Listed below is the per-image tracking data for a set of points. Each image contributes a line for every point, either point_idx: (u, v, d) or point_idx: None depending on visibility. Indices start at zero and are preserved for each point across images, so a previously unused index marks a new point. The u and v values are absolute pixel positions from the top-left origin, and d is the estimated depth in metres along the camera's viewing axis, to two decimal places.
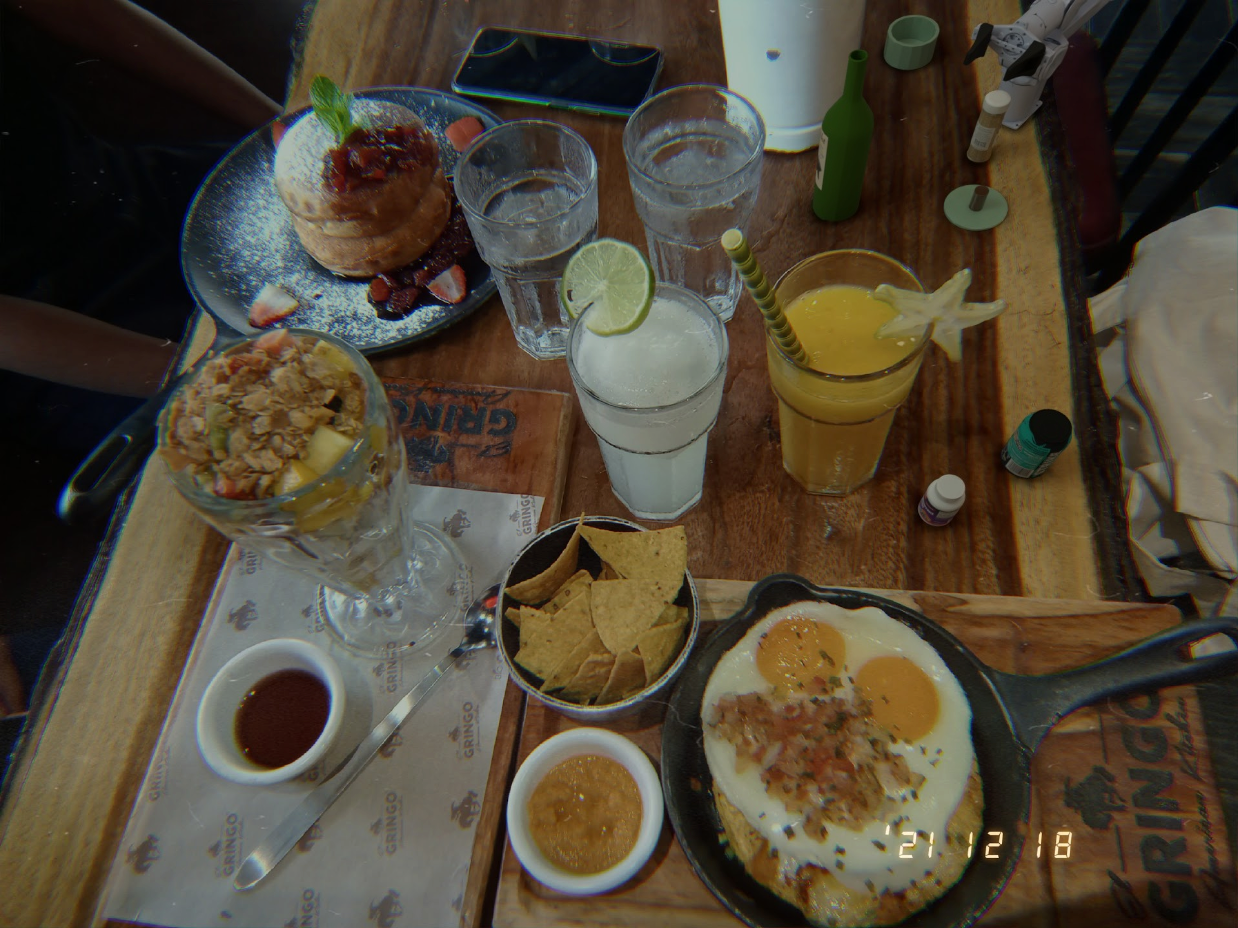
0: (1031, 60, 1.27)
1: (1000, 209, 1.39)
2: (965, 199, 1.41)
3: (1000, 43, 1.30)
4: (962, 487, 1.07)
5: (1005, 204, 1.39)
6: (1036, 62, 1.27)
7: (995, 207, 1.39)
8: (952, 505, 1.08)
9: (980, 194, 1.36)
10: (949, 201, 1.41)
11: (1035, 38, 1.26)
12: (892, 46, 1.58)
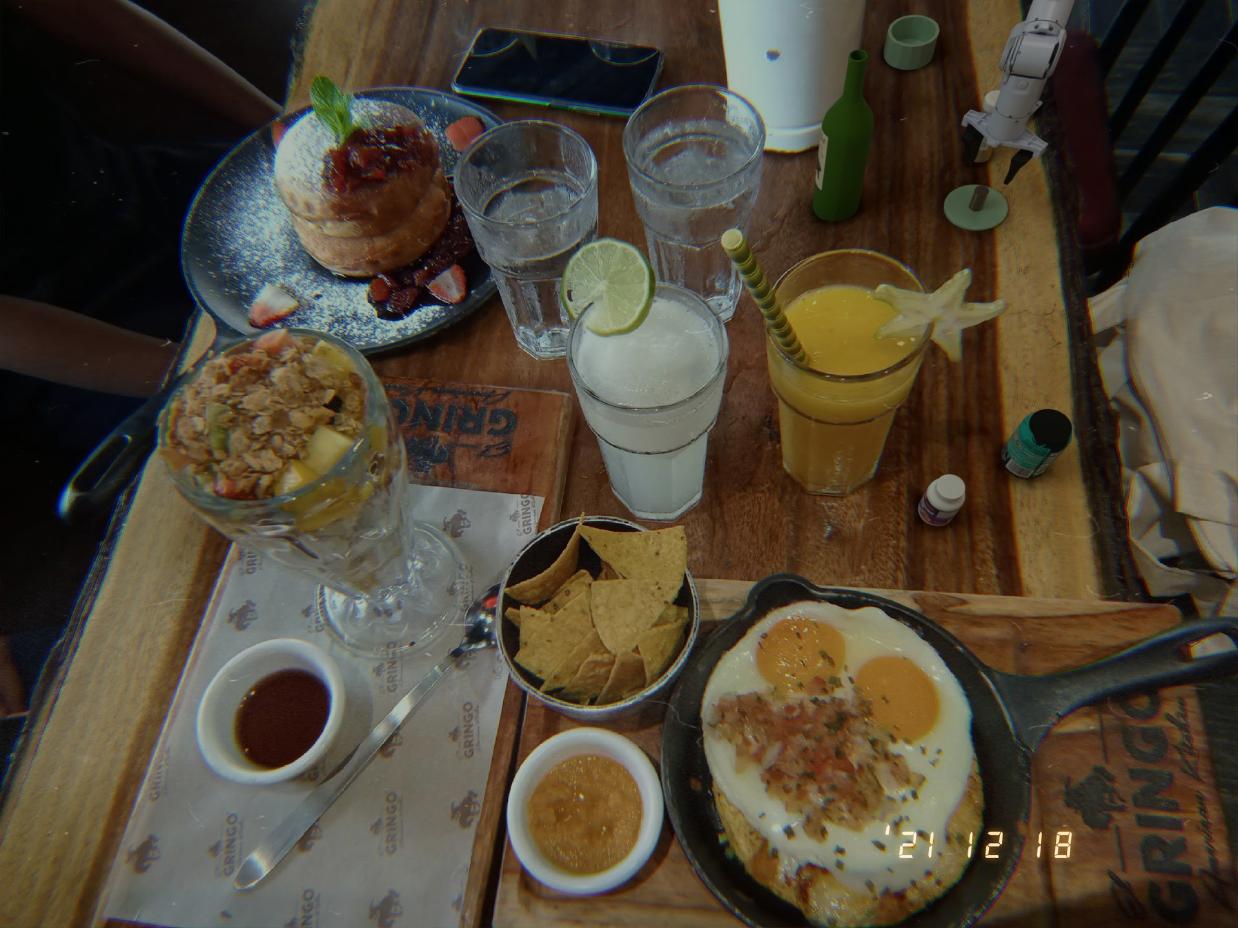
0: None
1: (1000, 209, 1.39)
2: (965, 199, 1.41)
3: None
4: (962, 487, 1.07)
5: (1005, 204, 1.39)
6: None
7: (995, 207, 1.39)
8: (952, 505, 1.08)
9: (980, 194, 1.36)
10: (949, 201, 1.41)
11: (1014, 146, 1.23)
12: (892, 46, 1.58)
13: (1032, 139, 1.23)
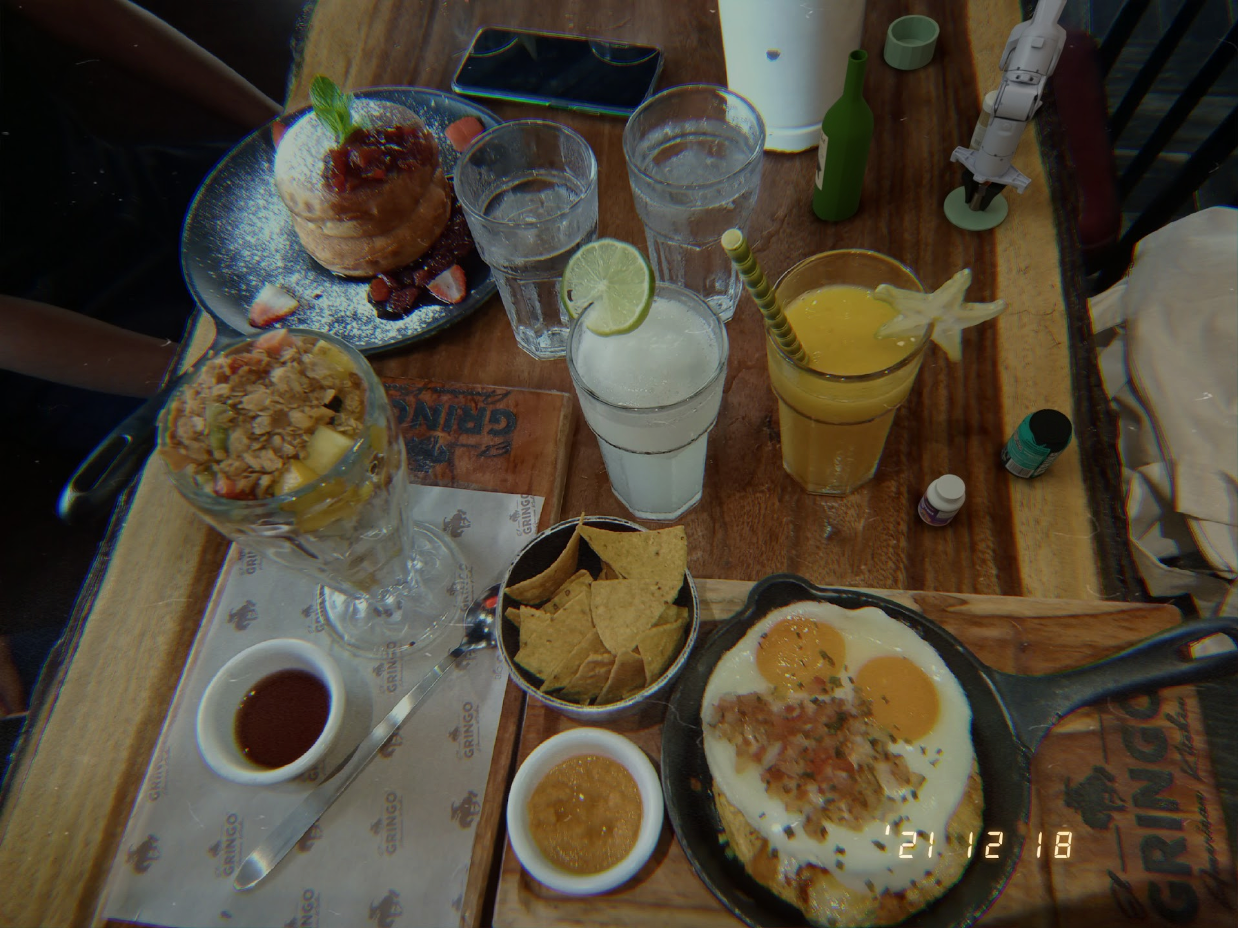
0: None
1: (1000, 209, 1.39)
2: None
3: None
4: (962, 487, 1.07)
5: (1005, 204, 1.39)
6: None
7: (995, 207, 1.39)
8: (952, 505, 1.08)
9: (980, 194, 1.36)
10: (949, 201, 1.41)
11: (999, 182, 1.30)
12: (892, 46, 1.58)
13: (1016, 175, 1.29)
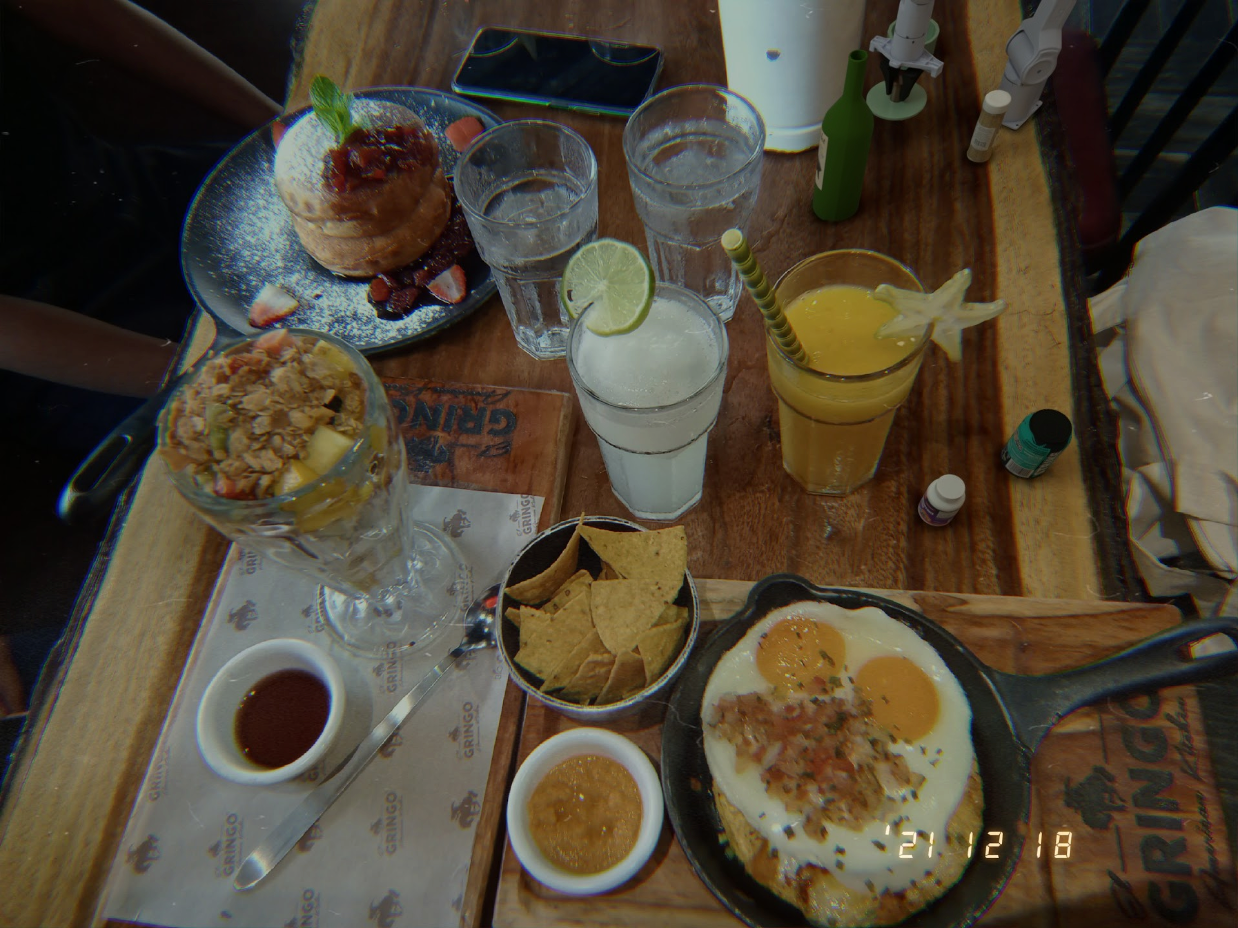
0: None
1: (920, 99, 1.44)
2: None
3: None
4: (962, 487, 1.07)
5: (924, 95, 1.44)
6: None
7: (915, 98, 1.44)
8: (952, 505, 1.08)
9: (898, 83, 1.41)
10: (871, 94, 1.46)
11: (914, 66, 1.35)
12: None
13: (930, 59, 1.34)
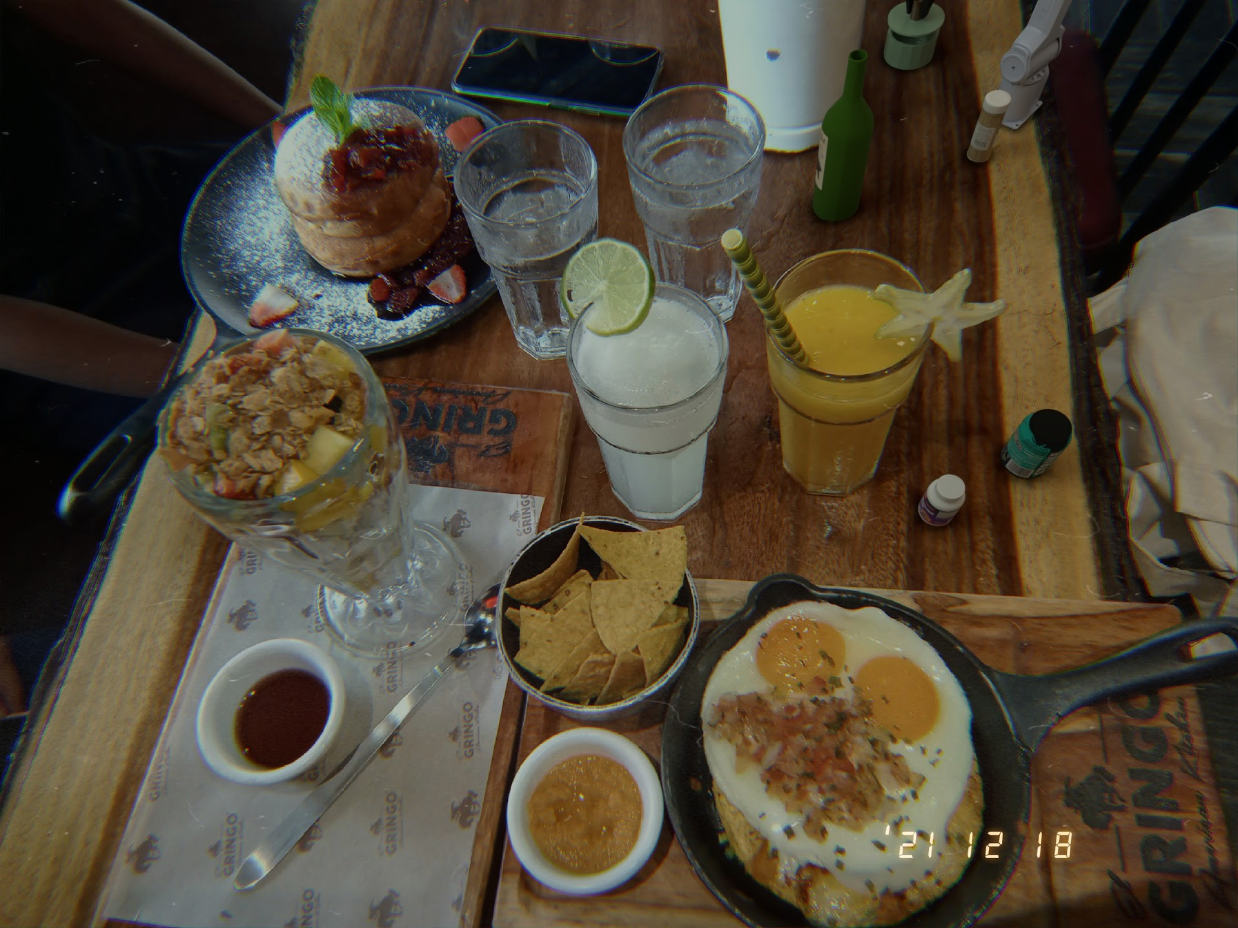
0: None
1: (938, 18, 1.53)
2: None
3: None
4: (962, 487, 1.07)
5: (942, 14, 1.53)
6: None
7: (933, 17, 1.53)
8: (952, 505, 1.08)
9: (918, 1, 1.50)
10: (892, 14, 1.56)
11: None
12: (892, 46, 1.58)
13: None
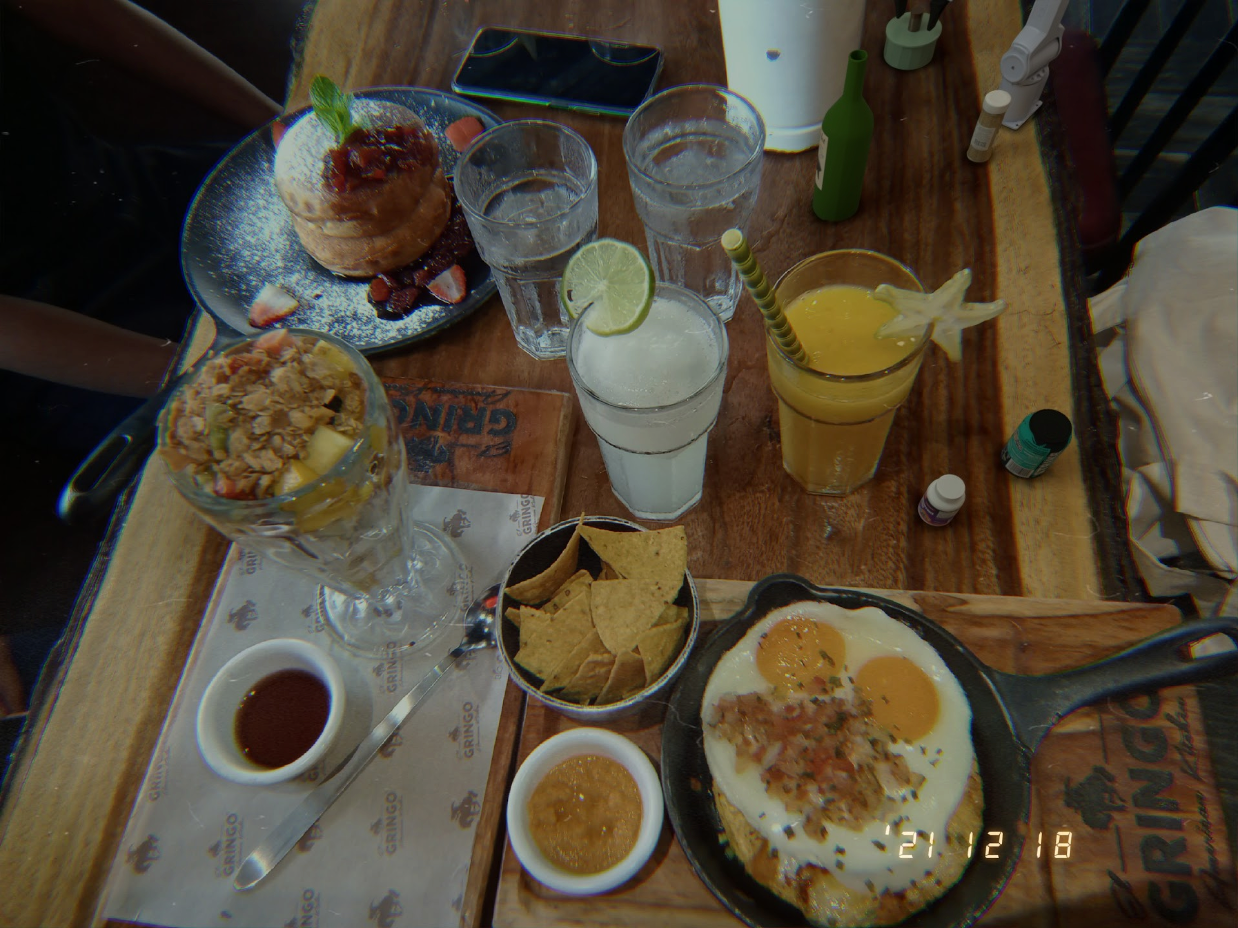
0: None
1: (935, 29, 1.56)
2: (904, 23, 1.58)
3: None
4: (962, 487, 1.07)
5: (939, 25, 1.56)
6: None
7: None
8: (952, 505, 1.08)
9: (916, 13, 1.53)
10: (890, 25, 1.58)
11: None
12: (892, 46, 1.58)
13: None
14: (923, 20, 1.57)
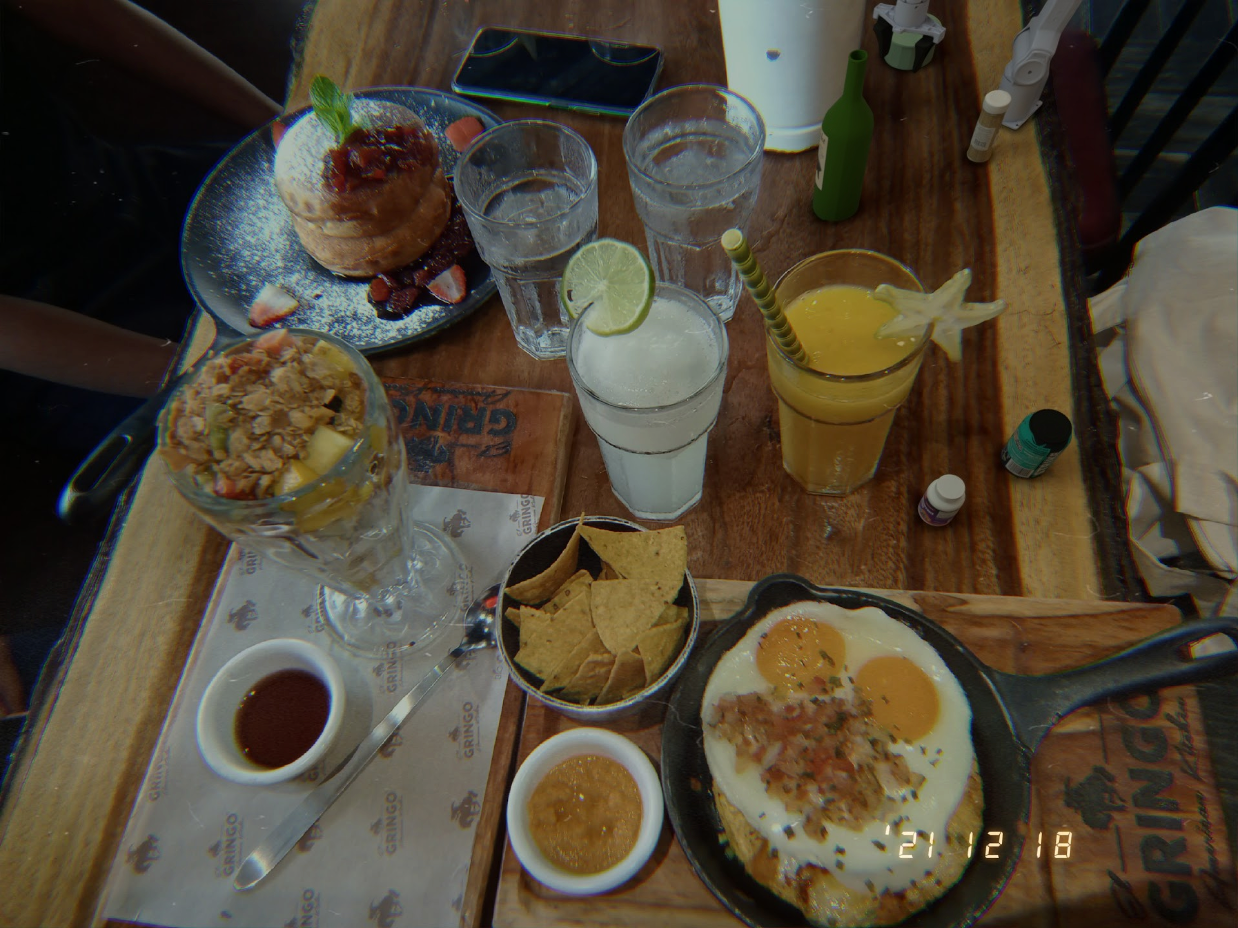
0: None
1: None
2: None
3: None
4: (962, 487, 1.07)
5: None
6: None
7: None
8: (952, 505, 1.08)
9: None
10: None
11: (916, 32, 1.37)
12: (892, 46, 1.58)
13: (932, 25, 1.37)
14: None
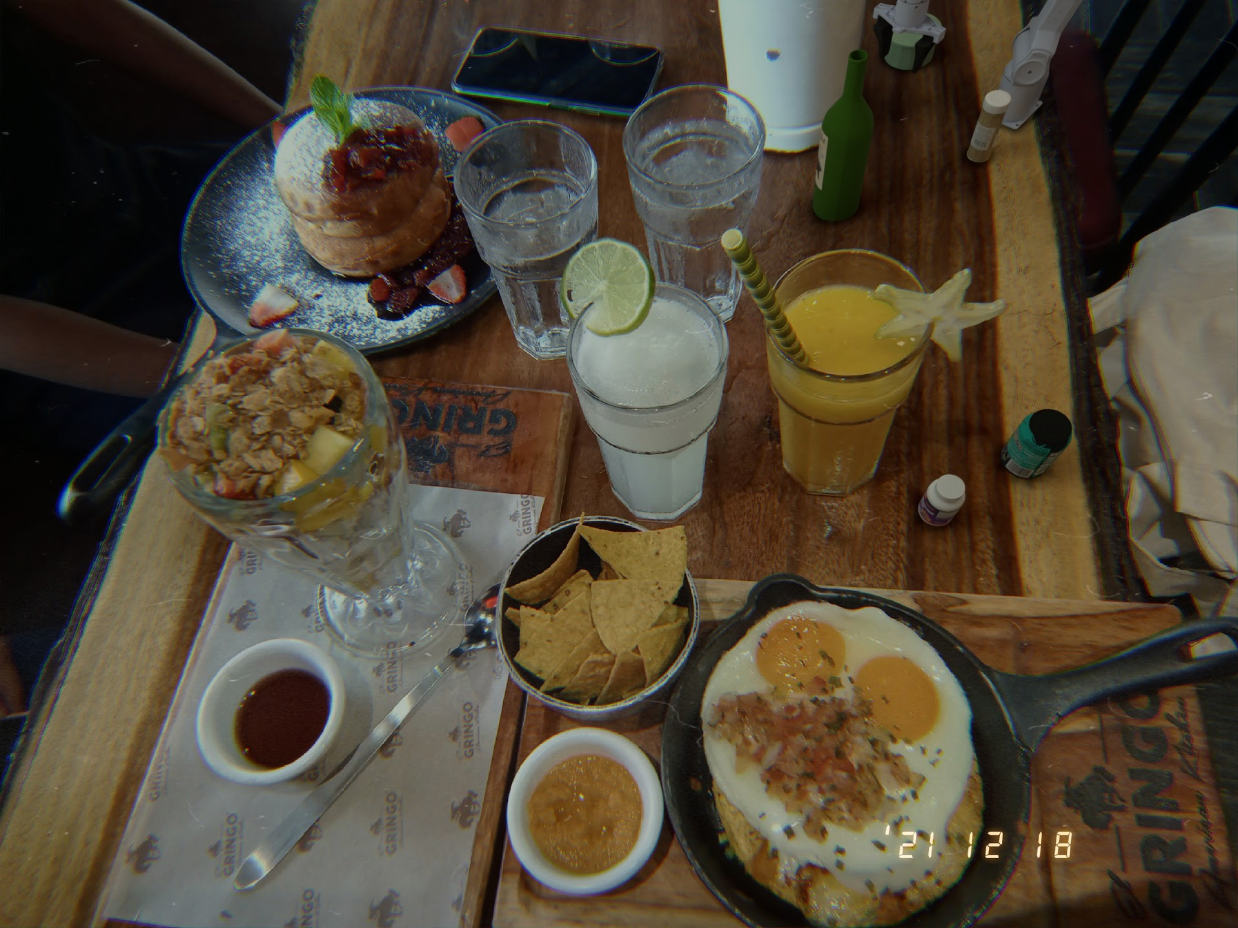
0: None
1: None
2: None
3: None
4: (962, 487, 1.07)
5: None
6: None
7: None
8: (952, 505, 1.08)
9: None
10: None
11: (916, 32, 1.37)
12: (892, 46, 1.58)
13: (932, 25, 1.37)
14: None
